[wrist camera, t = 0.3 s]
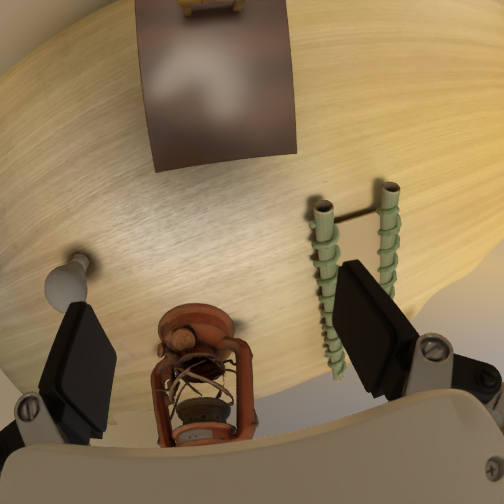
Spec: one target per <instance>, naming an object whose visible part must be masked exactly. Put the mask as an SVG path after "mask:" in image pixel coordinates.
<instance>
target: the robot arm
mask: <svg viewBox="0 0 504 504" xmlns="http://www.w3.org/2000/svg"><path fill="white" fill-rule="evenodd" d="M332 325H333V327H334V329H335V331H336V333H337V335H338V337H339V339H340V341H341V343H342V345H343V347H344V348H345V350H346V352H347V354H348V356H349V358H350V360H351V362H352V364H353V366H354V368H355V370H356V372H357V374H358V376H359V378H360V380H361V382H362V384H363V386H364V388H365V390H366V391H367V392H368V393H370V392H371V394H372V396H373V398H377V397H379V396H382V395H385V397H386V399H387V400H388V402H387V403H385V404H382V405H380V406H377V407H374V408H371V409H368V410H365V411H362V412H359V413H356V414H353V415H350V416H346V417H343V418H340V419H337V420H334V421H330V422H326V423H323V424H319V425H315V426H312V427H308V428H304V429H300V430H295V431H291V432H286V433H282V434H277V435H272V436H267V437H261V438H256V439H250V440H243V441H237V442H229V443H221V444H212V445H202V446H190V447H172V448H117V447H97V446H91V445H90V443H89V441H90V438H94V439H102V436H103V432H105V431H106V428H107V419H108V411H109V404H110V397H111V390H112V384H113V377H114V372H115V366H116V360H117V356H116V352H115V350H114V348H113V346H112V345H111V343H110V341H109V339H108V337H107V336H106V334H105V332H104V330H103V328H102V326H101V324H100V323H99V321H98V319H97V317H96V315H95V313H94V311H93V309H92V307H91V305H90V304H87V303H86V302H85V301H78V302H72V303H70V305H69V307H68V309H67V311H66V314H65V316H64V318H63V320H62V323H61V325H60V328H59V330H58V333H57V335H56V338H55V340H54V343H53V345H52V348H51V351H50V353H49V356H48V359H47V362H46V364H45V367H44V370H43V373H42V376H41V379H40V382H39V385H38V388H39V389H40V391H39V394H38V393H36V392H27V393H25V394H23V395H22V396H21V397H20V398H19V399H18V401H17V402H16V405H15V408H14V416H15V420H14V421H13V422H11V423H10V424H9V425H8V426H6V427H5V428H4V429H3V430H1V431H0V504H504V382H502V378H501V375H500V373H499V371H498V370H497V369H496V368H495V367H494V366H493V365H490V364H488V363H485V362H481V361H477V360H474V359H471V358H467V357H464V356H461V355H457V354H454V353H453V347H452V345H451V343H450V342H449V341H448V340H447V339H446V338H445V337H443V336H442V335H439V334H436V333H427V334H424V335H422V336H419V334H418V333H417V332H416V330H415V329H414V327H413V326H412V325H411V323H410V322H409V321H408V319H407V318H406V317H405V315H404V314H403V313H402V311H401V310H400V309H399V308H398V306H397V305H396V304H395V302H394V301H393V300H392V299H391V297H390V296H389V295H388V294H387V292H386V291H385V290H384V289H383V288H382V287H381V286H380V285H379V283H378V282H377V281H376V280H375V278H374V277H373V276H372V275H371V274H370V272H369V271H368V270H367V269H366V267H365V266H364V265H363V264H362V263H361V262H360V261H359V260H358V259H355V260H350V261H344V262H343V263H342V266H339V268H338V274H337V283H336V291H335V298H334V306H333V313H332Z"/></svg>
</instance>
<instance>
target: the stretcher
mask: <svg viewBox="0 0 504 504" xmlns="http://www.w3.org/2000/svg"><path fill="white" fill-rule="evenodd" d="M399 194H400V187H399V185H398V184H396V183H394V182H386V183H384V184H383V189H382V200H381V206H380V207H378V208H377V209H376V211H374V212H371V213H367V214H364V215H361V216H358V217H354V218H351V219H348V220H345V221H341V222H338V223H335V224H334V215H333V204H332V203H331V202H330V201H327V200H319V201H317V202H316V203H315V204H314V206H313V207H314V219H315V220H314V221H311V222H310V224H309V227H310V228H311V229H314V228H315V232H316V240H315V241H314V242H313V243H312V247H313V248H314V249H317V250H318V257H319V259H317V260H315V261H314V262H313V265H314V266H315V267H320V276H321V277H320V278H319V279H317V284H318V285H319V286H322V295H321V296H319V298H318V300H319V301H320V302H321V303H324V310H323V311H321V316H322V317H325V321H326V323H325V324H324V325H323V326H322V329H323V330H324V331H327V336H326V337H325V338H324V341H325V343H326V344H329V348H328V349H327V350H326V351H325V353H326V355H327V356H330V358H331V359H330V360H329V361H328V363H327V364H328V366H330V367H332V371H333V378H334V381H341V380H343V378H344V376H343V373H344V372H345V369H346V368H347V367H346V362H345V361H344V360H347V359H349V356H348V354H347V352H346V350H345V348H344V347H343V345H342V343H341V341H340V339H339V337H338V335H337V333H336V331H335V329H334V327H333V325H332V313H333V306H334V298H335V291H336V283H337V274H338V268H339V266H342V263H343V262H344V261H350V260H355V259H358V260H359V261H360V262H361V263H362V264H363V265H364V266H365V267H366V269H367V270H368V271H369V272H370V274H371V275H372V276H373V277H374V278H375V280H376V281H377V282H378V283H379V285H380V286H381V287H382V288H383V289H384V290H385V291H386V292H387V294H388V295H389V296H390V297H391V299H392V300H393V298H394V295H395V290H394V286H393V284H394V283H395V281H396V280H397V276H396V271H395V269H396V267H397V264H398V256H397V254H396V252H395V251H396V250H397V249H398V248H399V244H400V237H399V235H398V234H397V233H398V232H399V230H400V227H401V219H400V216H399V214H398V212H399V208H398V200H399Z"/></svg>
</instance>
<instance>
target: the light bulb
mask: <svg viewBox="0 0 504 504" xmlns="http://www.w3.org/2000/svg"><path fill="white" fill-rule="evenodd" d="M88 265H89V261H88V259H87V258H86V257H85V256H84V255H82V254H77V255H75V256H74V257H73V259H72V261H71V262H69V263H67V264H66V265H63V266H59V267H57V268H55V269H54V270H52V271H51V272H50V273H49V275H48V276H47V278H46V281H45V287H44V288H45V295H46V298H47V300H48V302H49V304H50V305H51V306H52V307H53V308H54V309H55V310H57V311H59V312H62V313H66V311H67V309H68V307H69V305H70V303H72V302H78V301H86V298H87V283H86V280H85V276H86V272H85V271H86V269H87V267H88Z"/></svg>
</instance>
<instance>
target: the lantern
mask: <svg viewBox="0 0 504 504" xmlns="http://www.w3.org/2000/svg"><path fill="white" fill-rule="evenodd" d="M158 334H159V337H160V340H161V341H162V343H161V344H159V346H158V352H157V355H158V357H159V358H162V356H163V355H165V358H164V359H163V360H161V361H160V362H159V363H157V365H156V367H155V368H154V369H153V371H152V374H151V380H150V381H151V387H152V396H153V404H154V411H155V417H156V423H157V429H158V435H159V438H158V442H157V443H158V445H160V447H161V448H172V447H190V446H202V445H212V444H221V443H229V442H237V441H243V440H250V439H252V437H253V435H254V432H255V429H256V428H257V427H258V426H259V420H258V417H257V415H256V412H255V409H254V395H253V370H252V359H253V354H252V352H251V349H250V347H249V345H248V344H247V342H245V341H243V340H241V339H239V338H233V337H234V334H235V328H234V324H233V321H232V320H231V318H230V317H229V316H228V315H227V314H226V313H225V312H223V311H222V310H221V309H218V308H217V307H214V306H211V305H207V304H185V305H181V306H178V307H175V308H173V309H172V310H170V311H168V312H167V313H166V314H165V315H164V316H163V317H162V318H161V320H160V322H159V325H158ZM232 351H233V352H234V353H235V356H236V363H233V361H232V360H226V359H227V358H228V357H229V356H230V354H231V352H232ZM200 356H201V357H200ZM226 362H230V363H231V364H232V365H234V366H236V371H234V370H231V369H225V365H224V363H226ZM172 371H173V373H172ZM225 371H231V372H234V373H235V374H236V395H237V420H236V421H237V422H236V423H237V424H236V425H237V429H236V427H235V426H233V425H231V424H228V423H227V422H226V419H227V418H228V417H229V415H230V412H231V407H230V406H232V405H233V404H234V399H233V396H231V394H230V392H229V391H228V390H227V389H225V388H224V385H223V386H222V385H220V384H218V383H216V382H215V381H213V380H216V379H218V378H219V377H220V376H221V375H223V377H224V373H225ZM175 372H176V374H177V375H175ZM175 376H176V377H175ZM225 377H226V376H225ZM167 379H170V380H169V381H168V382H167V385H168V388H167V389H165V381H166V380H167ZM180 379H182V380H184V382H186V384H185V385H184V386H183V387H182V389H181V390H180V392H179V394H178V396H177V399H176V402H174V401H175V399H174V398H175V397H174V396H176V391H177V390H178V386H179V384H180V382H179V380H180ZM223 379H224V378H223ZM223 381H224V380H223ZM177 382H178V383H177ZM189 382H191V383H206V382H207V383H209V384H212V385H213V386H214V387H216V388H217V389H219V390H220V391H219V392H218V394H217V397H216V398H212V397H198V398H191V399H186V400H184V401H182V402H180V403H179V404H178V405H177V403H178V399H179V397H180V394H181V392H182V390H183V389H184V387H185V386H186V385H187V384H188V386H190V388H191V389H192V390H193V391H194V392H196V393H198V394H200V395H201V396H202V394H201V393H199V392H198V391H197V390H196V389H195V388H194V387H192V386H191V385H190V384H189ZM167 391H169V396H168V394H166V392H167ZM221 391H223V392H224V393H225V394H226V395H229V396H230V397H231V398H232V402H230V403H226V402H224V401H223V400H221V399H219V398H220V397H221V394H222V392H221ZM174 403H175V405H174ZM171 404H173V405H174V408H173V411H172V414H171V417H170V415H169V409H168V406H169V405H171ZM175 409H176V413H177V414H178V417H179V418H180V419H181V420H182V421H183V425H182V426H179V427H177V428H176V429H175V430H173V431H172V426H171V420H172V417H173V415H174V412H175ZM175 440H176V443H175Z"/></svg>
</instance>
